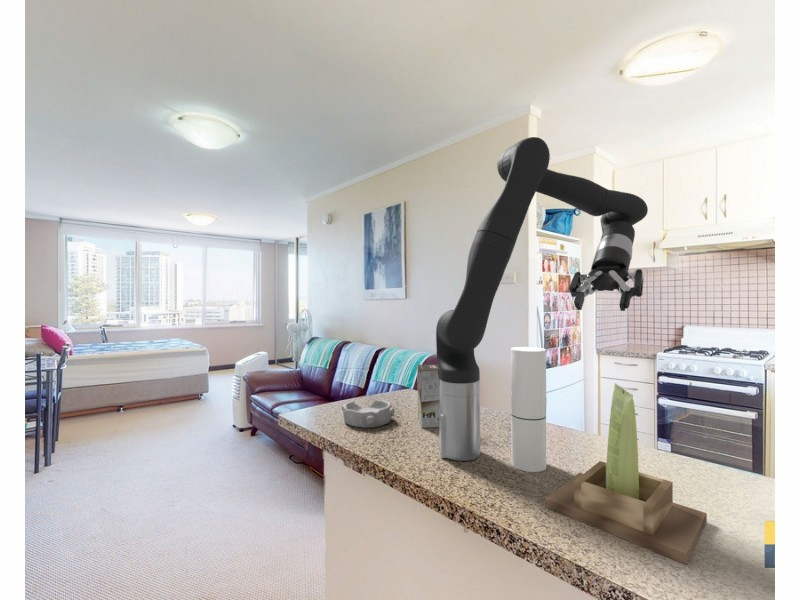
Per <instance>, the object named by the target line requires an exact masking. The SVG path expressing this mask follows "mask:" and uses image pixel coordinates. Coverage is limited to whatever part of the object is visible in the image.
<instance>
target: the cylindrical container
mask: <svg viewBox="0 0 800 600" xmlns="http://www.w3.org/2000/svg"><path fill="white" fill-rule="evenodd" d="M546 352H547V351H546V349H545V348H543V347H536V346H535V347H533V346H514V347H510V418H511V419H510V420H511V421H510V422H511V423H510V431H511V432H510V435H511V437H510V438H511V439H510V440H511V450H510V451H511V456H510V457H511V465H512V467H514V468H515V469H517V470H520V471H522V472H528V473H539V472H543V471H545V470H546V469H547V382H546V381H547V375H546V374H547V372H546V371H547V369H546V368H547V366H546V365H547V363H546V362H547V361H546V360H547V356H546V355H547V354H546Z"/></svg>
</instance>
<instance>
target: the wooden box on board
mask: <svg viewBox="0 0 800 600" xmlns="http://www.w3.org/2000/svg"><path fill="white" fill-rule="evenodd" d="M606 467H607V462H605V461H600V460H599V461H598V462H597V463H595V464H594V465H593V466H591V468H589V469H588V470H586V472H584V473H582V472H578V473H577V474H576V475H575V476H573V477H572V478H571V479H569V480H568V481H567V482H565V483H564V484H562V485H561V486H560V487H559V488H557V489H556V490H555V491H554V492H552V493H551V494H549V495H548V496H547V497H546V498H545V508H547V509H549V510H552V511H554V512H557V513H559V514H560V515H561V514H562V515H564V516H566V517H569V518H572V519H574V520H577V521H578V522H582V523H584V524H587V525H588V526H591V527H594V528H597V529H598V530H601V531H603V532H606V533H608V534H611V535H613V536H616V537H619V538H620V539H623V540H625V541H628V542H630V543H633V544H636V545H638V546H641V547H643V548H646V549H648V550H650V551H652V552H655V553H658V554H659V555H662V556H665V557H666V558H669V559H672V560H675V561H678V562H679V563H682V564H684V565H687V564H688V562H689V561H690V559H691V556H692V554H693V552H694V550H695V548H696V546H697V544H698V541H699V539H700V538H701V535H702V533H703V531H704V529H705V527H706V526H707V525H706V524H707V520H708V519H707V518H708V515H707V512H704V511H701V510H699V509H698V510H697V509H696V508H692V507H689V506H685V505H682V504H679V503H676V502H674V501H673V495H674V494H673V493H674V492H673V490H674V489H673V487H674V486H673V485H674V483H673V481H670V480H667V479H663V478H660V477H657V476H653V475H649V474H647V473H643V472H639V500H638V499H635V498H632V497H629V496H626V495H623V494H620V493H617V492H614V491H611V490H608V489H606Z"/></svg>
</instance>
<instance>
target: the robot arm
mask: <svg viewBox="0 0 800 600" xmlns="http://www.w3.org/2000/svg"><path fill="white" fill-rule="evenodd" d="M550 154H551V153H550V148H549V146H548V144H547V143H546V141H545V140H543V139H542V138H541V137H536V136H532V137H531V136H530V137H526V138H524V139H522V140H520V141H517V143H515V144H512V146H510V147H509V148H507V149H506V150H505V151H503V152H502V153H501V154H500V155H499V158H498V160H497V163H496V165H497V166H496V168H497V172H498V175H499V176H500V178H501V179H502V180H503V181H504V182H505V184H504V186H503V189H502V191H501V193H500V194H499V195H498V197H497V199H496V200H495V202H494V203H493V204H492V206H491V207H490V209H489V210H488V211H487V212H486V213H485V216H484V217H483V219H482V220H481V222H480V224H479V226H478V228H477V231H476V233H475V235H474V238H473V241H472V243H471V246H470V249H469V252H468V255H467V264H466V275H465V276H466V277H465V281H464V286H463V289H462V291H461V295H460V297H459V299H458V301H457V304H456V305H455V307H454V309H451V310H447V311H445V312H444V313H443V314H441V315H440V317H439V318H438V321H437V323H436V329H435V330H436V331H435V336H436V337H435V343H436V344H435V346H436V363H437V365H438V368H439V378H440V409H439V427H438V430H439V431H438V433H439V434H438V437H439V438H438V440H439V441H438V442H439V447H438V448H439V452H440V458H441V459H448V460H452V461H458V462H459V461H460V462H464V461H472V460H473V461H474V460H475V459H478V458H479V457H480V456H481V393H480V392H481V382H480V380H481V375H480V374H481V372H480V367H479V365H478V363H477V361H476V356H475V349H476V348H477V347H478V346H479V345H480V343H481V342H482V340H483V338H484V336H485V332H486V329H487V324H488V321H489V317H490V314H491V313H490V312H491V309H492V307H493V306H492V305H493V304H494V303H493V302H494V299H495V297H496V294H497V291H498V289H499V286H500V284H501V282H502V279H503V276H504V274H505V271H506V268H507V266H508V263H509V262H510V259H511V256H512V254H513V251H514V249H515V246H516V244H517V240H518V236H519V234H520V232H521V230H522V226H523V224H524V221H525V219H526V216H527V213H528V211H529V208H530V205H531V204H532V203H531V202H532V201H533V199H534V197H535V194H536V193H539V194H542V195H545V196H548V197H550V198H553V199H555V200H558V201H560V202H563V203H565V204H568V205H570V206H572V207H573V208H576V209H577V210H579V211H581V212H584V213H586V214H588V215H590V216H592V217H600V216H601V217H600V219H599V220H600V225H601V233H602V234H601V238H600V241H599V243H598V246H597V248H596V251H595V254H594V257H593V262H592V264H591V267H590V271H589V272H588V273H587V274H582V273H581V272H580V271H576V272H575V273H574V275H573V276H572V279H571V282H570V285H569V287H568V289H569V292H570V296H571V297H572V298H574V297H575V298H574V300H573V303H574V307H575V308H576V310H577V311H582V308H583V305H584V303H585V298H586V297H587V296H589V295H593V294H594V293H596V292H603V291H608V292H614V290H616V291H617V292H618V293H619V294H620V300H619V310H620V311H621V312H626V309H628V308H630V304H631V300H632V298H633V297H639V298H640V297H642V296H643V289H644V280H645V279H644V274H643V270H642V269H640V268H637V269H636V270H635V271H634V272H629V269H630V265H631V262H632V261H631V260H632V257H633V247H634V246H633V245H634V241H635V236H636V235H635V234H636V231H635V228H634V225H636V224H637V223H640V222H641V221H642V220H643V219H645V217H646V216H647V215H648V211H649V208H648V205H647V203H646V201H645V200H644V199H643V198H642V197H640V196H638V195H636V194H633V193H631V192H624V191H619V190H612V189H608V188H606V187H603V186H602V185H600V184H598V183H597V182H594V181H592V180H590V179H587V178H585V177H581V176H577V175H571V174H566V173H562V172H558V171H554V170H552V169H549V164H550V160H551V157H550ZM629 280H631V281H632V282H633V287H630V286H629V285H628V284H627V282H628V281H629Z"/></svg>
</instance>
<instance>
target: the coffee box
mask: <svg viewBox="0 0 800 600" xmlns="http://www.w3.org/2000/svg"><path fill="white" fill-rule="evenodd" d="M416 366H417V368H416V369H417V372H416V373H417V375H416V376H417V377H416V379H417V418H418V419H417V420H418V421H419V424H420V427H421V429H423V428H425V429H426V428H439V409H440V378H439V368H438V364H431V363H430V364H417V365H416Z"/></svg>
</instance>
